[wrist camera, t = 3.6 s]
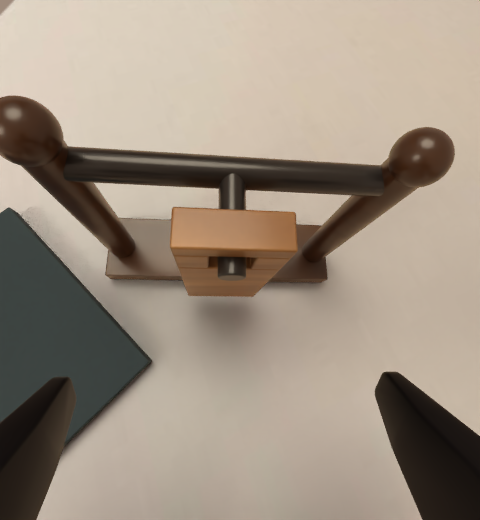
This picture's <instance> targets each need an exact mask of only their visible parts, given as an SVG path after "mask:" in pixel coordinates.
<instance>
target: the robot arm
mask: <svg viewBox="0 0 480 520" xmlns="http://www.w3.org/2000/svg"><path fill="white" fill-rule="evenodd" d="M375 397H376V400H377V403H378V406H379V410H380V413H381V416H382V419H383V422H384V425H385V428H386V431H387V434H388V437H389V440H390V443H391V446H392V449H393V451H394V454H395V456H396V459H397V461H398V464H399V466H400V468H401V471H402V473H403V475H404V478H405V480H406V482H407V485H408V487H409V489H410V492H411V494H412V496H413V498H414V501H415V503H416V505H417V508H418V510H419V512H420V515H421V517H422V519H423V520H480V436H479V435H478V434H476V433H475V432H474V431H472V430H471V429H470V428H469V427H467V426H466V425H465V424H464V423H462V422H461V421H460V420H458V419H457V418H456V417H455V416H453V415H452V414H451V413H450V412H448V411H447V410H446V409H444V408H443V407H442V406H441V405H439V404H438V403H437V402H436V401H434V400H433V399H432V398H430V397H429V396H428V395H427V394H425V393H424V392H423V391H422V390H420V389H419V388H418V387H416V386H415V385H414V384H413V383H411V382H410V381H409V380H407V379H406V378H405V377H404V376H402V375H401V374H400V373H398V372H384V373H382V375H381V377H380V379H379V382H378V384H377V386H376V389H375ZM75 404H76V394H75V390H74V387H73V384H72V380H71V378H69V377H53V378H52V379H50V380H49V381H48V382H46V383H45V384H44V385H43V386H42V387H41V388H40V389H38V390H37V391H36V392H35V393H34V394H33V395H31V396H30V397H29V398H28V399H27V400H26V401H24V402H23V403H22V404H21V405H20V406H19V407H18V408H16V409H15V410H14V411H13V412H12V413H11V414H9V415H8V416H7V417H6V418H5V419H4V420H3V421H1V422H0V520H36V519H37V516H38V514H39V511H40V509H41V506H42V504H43V501H44V499H45V496H46V494H47V491H48V489H49V486H50V484H51V481H52V479H53V476H54V474H55V471H56V468H57V466H58V463H59V459H60V456H61V453H62V450H63V446H64V443H65V439H66V436H67V432H68V429H69V425H70V422H71V418H72V415H73V412H74V408H75Z"/></svg>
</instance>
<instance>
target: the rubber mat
mask: <svg viewBox="0 0 480 520" xmlns="http://www.w3.org/2000/svg"><path fill="white" fill-rule="evenodd" d="M151 362H152V361H151V359H150V358H149V357H148V356H147V355H146V354H145V352H144V351H143V350H142V349H141V348H140V347H139V346H138V345H137V344H136V343H135V341H134V340H133V339H132V338H131V337H130V336H129V335H128V334H127V333H126V332H125V330H124V329H123V328H122V327H121V326H120V325H119V324H118V323H117V322H116V321H115V319H114V318H113V317H112V316H111V315H110V314H109V313H108V312H107V311H106V310H105V308H104V307H103V306H102V305H101V304H100V303H99V302H98V301H97V300H96V299H95V297H94V296H93V295H92V294H91V293H90V292H89V291H88V290H87V289H86V288H85V286H84V285H83V284H82V283H81V282H80V281H79V280H78V279H77V278H76V277H75V276H74V274H73V273H72V272H71V271H70V270H69V269H68V268H67V267H66V266H65V265H64V263H63V262H62V261H61V260H60V259H59V258H58V257H57V256H56V255H55V254H54V252H53V251H52V250H51V249H50V248H49V247H48V246H47V245H46V244H45V243H44V241H43V240H42V239H41V238H40V237H39V236H38V235H37V234H36V233H35V232H34V230H33V229H32V228H31V227H30V226H29V225H28V224H27V223H26V222H25V221H24V219H23V218H22V217H21V216H20V215H19V214H18V213H17V212H15V211H14V210H12V209H11V208H7V209H6V210H4V211H3V212H1V213H0V422H1V421H3V420H4V419H5V418H6V417H7V416H8V415H9V414H11V413H12V412H13V411H14V410H15V409H16V408H18V407H19V406H20V405H21V404H22V403H23V402H24V401H26V400H27V399H28V398H29V397H30V396H31V395H33V394H34V393H35V392H36V391H37V390H38V389H40V388H41V387H42V386H43V385H44V384H45V383H46V382H48V381H49V380H50V379H52V378H53V377H69V378H71V380H72V384H73V387H74V390H75V394H76V404H75V408H74V412H73V415H72V418H71V422H70V425H69V429H68V432H67V436H66V439H65V443H64V446H65V445H66V444H67V443H68V442H69V441H70V440H71V439H72V438H73V437H75V436H76V435H77V434H78V433H79V432H80V431H81V430H82V429H83V428H84V427H85V426H86V425H87V424H88V423H89V422H90V421H91V420H92V419H93V418H94V417H95V416H96V415H97V414H98V413H99V412H100V411H101V410H102V409H103V408H104V407H105V406H107V405H108V404H109V403H110V402H111V401H112V400H113V399H114V398H115V397H116V396H117V395H118V394H119V393H120V392H121V391H122V390H123V389H124V388H125V387H126V386H127V385H128V384H129V383H130V382H131V381H132V380H133V379H134V378H135V377H136V376H137V375H139V374H140V373H141V372H142V371H143V370H144V369H145V368H146V367H147V366H148V365H149V364H150V363H151ZM64 446H63V447H64Z"/></svg>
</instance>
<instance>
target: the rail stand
mask: <svg viewBox="0 0 480 520" xmlns="http://www.w3.org/2000/svg"><path fill="white" fill-rule="evenodd" d="M0 155H1V156H2V157H3V158H5V159H7V160H8V161H10V162H12V163H15V164H18V165H21V166H22V167H23V168H24V169H25V170H26V171H27V172H28V173H29V174H30V175H31V176H32V177H33V178H34V179H35V180H36V181H37V182H38V183H39V184H41V185H42V186H43V187H44V188H45V189H46V190H47V191H48V192H49V193H50V194H51V195H52V196H53V197H54V198H55V199H56V200H57V201H58V202H59V203H60V204H61V205H62V206H64V207H65V208H66V209H67V210H68V211H69V212H70V213H71V214H72V215H73V216H74V217H75V218H76V219H77V220H78V221H79V222H80V223H81V224H82V225H83V226H84V227H85V228H86V229H88V230H89V231H90V232H91V233H92V234H93V235H94V236H95V237H96V238H97V239H98V240H99V241H100V242H101V243H102V244H103V245H104V246H105V247H106V248H107V249H108V257H107V266H106V274H105V275H106V276H108V277H109V278H111V279H146V280H182V277H181V274H180V272H179V269H178V267H177V264H176V261H175V259H174V256H173V254H172V251H171V249H170V234H171V220H158V219H132V218H118V217H117V215H116V214H115V212H114V211H113V210H112V208H111V207H110V205H109V204H108V202H107V201H106V200H105V198H104V197H103V195H102V194H101V193H100V191H99V190H98V188H97V187H96V185H95V184H94V183H93V182H95V183H115V184H135V185H156V186H176V187H196V188H216V189H219V209H232V210H246V190H257V191H277V192H298V193H318V194H338V195H352V196H351V197H350V198H349V199H348V200H347V201H346V202H345V203H344V204H343V205H342V206H341V207H340V208H339V209H338V210H337V211H336V212H335V213H334V214H333V215H332V216H331V217H330V218H329V219H328V220H327V221H326V222H325V223H324V224H323V225H322V226H317V225H296V228H297V245H298V251H297V253H296V254H295V255H294V256H293V257H292V258H291V259H290V260H289V261H288V262H287V263H286V264H285V265H284V266H283V267H282V268H281V269H280V270H279V271H278V272H277V273H276V274H275V275H274V276H273V277H272V278H271V279H270V280H269V281H268V282H323V281H325V280H327V269H326V257H325V256H327V255H328V254H329V253H331V252H332V251H333V250H335V249H336V248H337V247H339V246H340V245H342V244H343V243H344V242H346V241H347V240H348V239H350V238H351V237H352V236H354V235H355V234H356V233H358V232H359V231H360V230H362V229H363V228H365V227H366V226H367V225H369V224H370V223H371V222H373V221H374V220H375V219H377V218H378V217H379V216H381V215H382V214H383V213H385V212H386V211H388V210H389V209H390V208H392V207H393V206H394V205H396V204H397V203H398V202H400V201H401V200H402V199H404V198H405V197H407V196H408V195H409V194H411V193H412V192H413V191H415V190H416V189H417V188H419V187H424V186H427V185H430V184H432V183H435V182H436V181H438V180H439V179H441V178H442V177H443V176H444V175H445V174H446V173H447V172H448V170H449V169H450V167H451V165H452V163H453V160H454V155H455V149H454V145H453V142H452V140H451V138H450V137H449V136H448V135H447V134H446V133H445V132H443V131H441V130H439V129H436V128H432V127H423V128H417V129H414V130H411V131H409V132H407V133H406V134H404V135H403V136H402V137H400V138H399V139H398V140H397V141H396V143H395V144H394V145H393V147H392V149H391V151H390V154H389V158H388V159H387V160H386V161H385V162H384V163H383V164H382V165H365V164H348V163H332V162H315V161H299V160H283V159H266V158H250V157H233V156H217V155H200V154H184V153H167V152H151V151H134V150H118V149H102V148H85V147H69V146H67V144H66V143H65V141H64V140H63V132H62V129H61V126H60V124H59V122H58V120H57V119H56V117H55V116H54V115H53V114H52V113H51V112H50V111H49V110H48V109H47V108H46V107H45V106H43V105H42V104H40V103H38V102H37V101H34V100H32V99H30V98H26V97H22V96H6V97H2V98H0ZM217 276H218V278H219V279H221V280H226V281H238V280H243V279H245V278H246V257H220V256H218V273H217Z"/></svg>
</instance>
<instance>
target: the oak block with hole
mask: <svg viewBox="0 0 480 520" xmlns="http://www.w3.org/2000/svg"><path fill="white" fill-rule="evenodd" d="M170 249H171V251H172V254H173V256H174V259H175V261H176V264H177V267H178V269H179V272H180V274H181V277H182V280H183V282H184V285H185V287H186V290H187V293H188V295H189V296H240V297H253V296H254V295H255V294H256V293H257V292H258V291H259V290H260V289H261V288H262V287H263V286H264V285H265V284H266V283H267V282H268V281H269V280H270V279H271V278H272V277H273V276H274V275H275V274H276V273H277V272H278V271H279V270H280V269H281V268H282V267H283V266H284V265H285V264H286V263H287V262H288V261H289V260H290V259H291V258H292V257H293V256H294V255H295V254H296V253H297V251H298V245H297V228H296V214H295V212H279V211H255V210H232V209H208V208H184V207H173V209H172V218H171V234H170ZM218 256H220V257H246V278H245V279H243V280H238V281H226V280H221V279H219V278H218V276H217V273H218Z"/></svg>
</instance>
